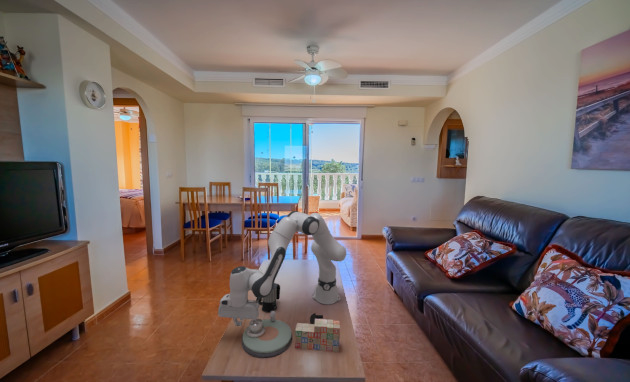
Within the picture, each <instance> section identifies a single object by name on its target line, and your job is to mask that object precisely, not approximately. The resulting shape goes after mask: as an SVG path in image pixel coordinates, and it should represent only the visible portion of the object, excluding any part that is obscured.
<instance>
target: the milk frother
mask: <svg viewBox="0 0 630 382" xmlns="http://www.w3.org/2000/svg"><path fill="white" fill-rule="evenodd" d="M280 297H281V285H280V284H279V283H275V282H274V286H273V289H272V291H271V293H270V294H269V295H268V296H266V297H264V298H257V297H256V299H255V301H256V303H257V302H258V303H259V305H261V306H262V307H261V310H262V312H264V313H268V314H269V313H270V314H271V311H275V312H276V311H277V309H278V304H277V303H278V302H277V301H278V300H280Z"/></svg>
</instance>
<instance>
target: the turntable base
mask: <svg viewBox="0 0 630 382" xmlns="http://www.w3.org/2000/svg"><path fill="white" fill-rule="evenodd" d="M292 343H293V332H292V331H291V339H290V341H289V343H288V344H287V345H286V346H285V347H284V348H282V349H280V350H278V351H276V352H272V353H256V352H253V351H250V350H249V349H247V348H246V347H245V345H244V343H243V336H242V337H241V347H242V349H243V351H244V352H245V353H246V354H247V355H249V356H251V357H255V358H259V359H267V358H274V357H276V356H279V355H281V354H283V353H285V352H286V351H287V350H288V349H289V348H290V346H291V345H292Z"/></svg>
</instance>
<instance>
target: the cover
mask: <svg viewBox="0 0 630 382" xmlns="http://www.w3.org/2000/svg"><path fill="white" fill-rule="evenodd" d="M262 320H263V319H260V318H257V319H256V320H251V319H250V321H249V323H248V324H249V325H248V326H249V328H248V329H247V336H248V337H250V338H259V337H261V336H263V335H264V333H265V327H264V326H262Z"/></svg>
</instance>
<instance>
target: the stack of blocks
mask: <svg viewBox="0 0 630 382" xmlns="http://www.w3.org/2000/svg"><path fill="white" fill-rule="evenodd" d="M340 324H341V323H340V320H335V319H324V318H323V319H322V318H320V319H315V324H310V323H301V322H297V323H296V325H295V329H294V330H295V333H294V334H295V335H294V337H295V339H294V348H295V349H301V350H314V351H326V352H335V353H339V351H340V350H339V349H340V338H341V336H340V334H341V333H340V332H341V331H340V329H341V328H340V327H341V326H340Z"/></svg>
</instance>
